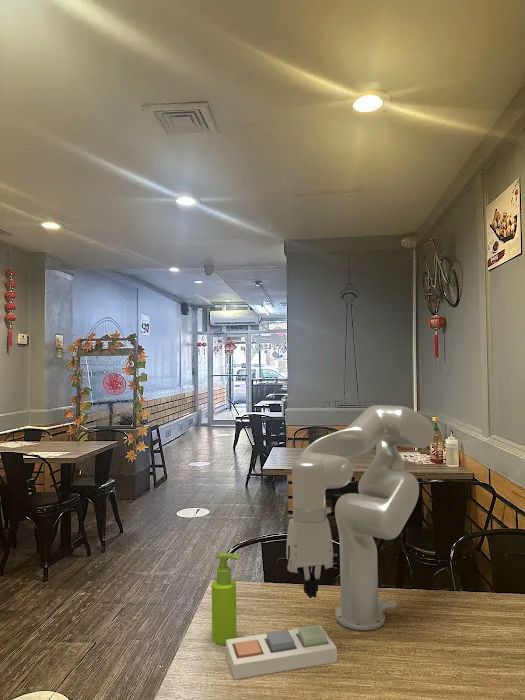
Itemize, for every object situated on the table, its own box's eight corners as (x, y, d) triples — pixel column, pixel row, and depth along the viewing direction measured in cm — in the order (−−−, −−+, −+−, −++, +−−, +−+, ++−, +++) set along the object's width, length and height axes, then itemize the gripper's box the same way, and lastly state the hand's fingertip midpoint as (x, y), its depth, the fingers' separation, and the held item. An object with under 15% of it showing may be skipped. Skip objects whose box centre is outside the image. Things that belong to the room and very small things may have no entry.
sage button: (318, 633, 116) (318, 625, 116) (326, 645, 111) (326, 636, 111) (298, 636, 115) (297, 628, 115) (305, 648, 110) (305, 639, 110)
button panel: (320, 638, 119) (320, 625, 119) (337, 661, 109) (336, 647, 109) (226, 653, 113) (225, 639, 113) (234, 679, 103) (234, 664, 104)
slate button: (287, 638, 114) (287, 629, 114) (294, 650, 109) (294, 641, 110) (266, 641, 113) (266, 632, 113) (272, 653, 108) (272, 644, 108)
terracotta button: (256, 648, 112) (256, 639, 112) (261, 661, 108) (261, 651, 108) (234, 652, 111) (234, 643, 111) (238, 664, 106) (238, 655, 106)
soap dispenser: (237, 646, 116) (236, 559, 116) (209, 644, 117) (208, 557, 118) (243, 633, 121) (242, 550, 122) (216, 631, 123) (215, 549, 124)
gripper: (333, 507, 120) (335, 584, 119) (273, 512, 116) (275, 592, 115) (346, 515, 112) (347, 598, 112) (282, 521, 109) (284, 607, 108)
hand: (310, 595), depth 113 cm, fingers closed
